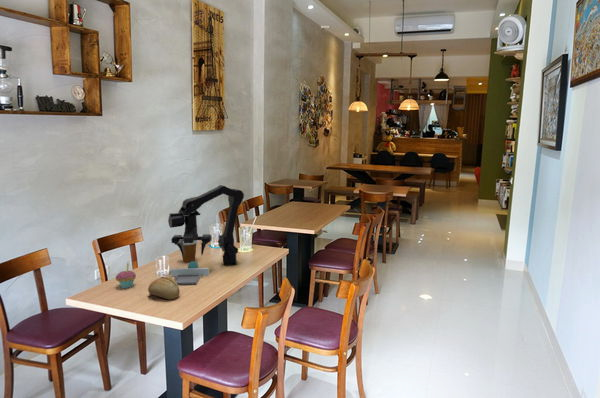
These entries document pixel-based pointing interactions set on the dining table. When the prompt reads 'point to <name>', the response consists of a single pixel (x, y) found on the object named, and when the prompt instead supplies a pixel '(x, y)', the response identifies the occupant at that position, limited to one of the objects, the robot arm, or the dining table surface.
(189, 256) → the disposable coffee cup
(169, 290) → the bread roll
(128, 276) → the cupcake
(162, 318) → the dining table surface
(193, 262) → the ball
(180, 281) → the dish
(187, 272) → the wall
